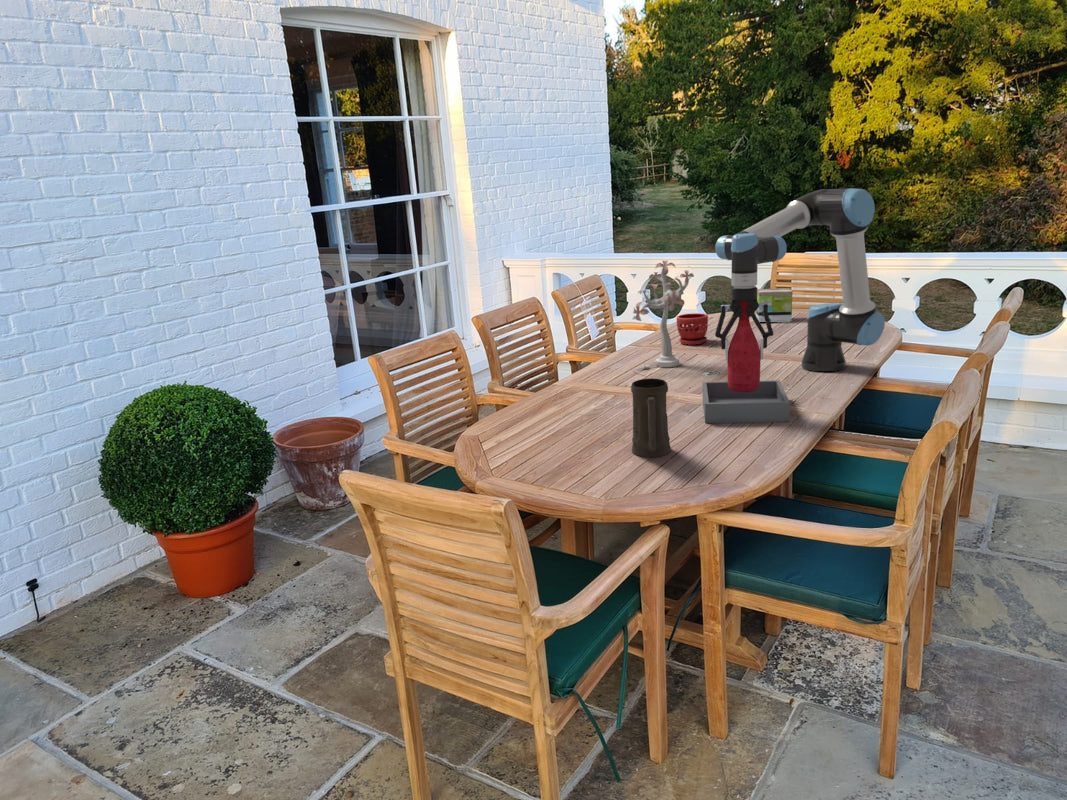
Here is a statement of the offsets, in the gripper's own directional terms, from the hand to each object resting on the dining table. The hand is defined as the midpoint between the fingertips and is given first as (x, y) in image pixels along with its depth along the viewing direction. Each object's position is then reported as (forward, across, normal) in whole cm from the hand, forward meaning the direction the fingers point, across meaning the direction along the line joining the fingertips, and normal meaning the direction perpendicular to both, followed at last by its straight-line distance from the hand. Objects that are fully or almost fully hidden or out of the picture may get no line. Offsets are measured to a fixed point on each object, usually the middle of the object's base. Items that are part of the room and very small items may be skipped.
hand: (743, 358), depth 246 cm
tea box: (+17, +24, +136) cm, 139 cm away
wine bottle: (+10, 0, 0) cm, 10 cm away
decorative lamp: (+17, -26, +58) cm, 66 cm away
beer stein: (+17, -27, -38) cm, 49 cm away
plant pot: (+17, -14, +96) cm, 99 cm away
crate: (+17, 0, 0) cm, 17 cm away
